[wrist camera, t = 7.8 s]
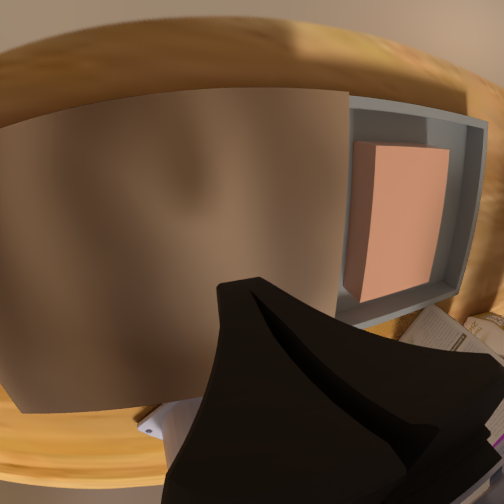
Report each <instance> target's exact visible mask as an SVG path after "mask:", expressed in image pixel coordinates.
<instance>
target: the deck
mask: <svg viewBox="0 0 504 504" xmlns="http://www.w3.org/2000/svg"><path fill="white" fill-rule="evenodd" d="M348 157H349V92H345V91H334V90H322V89H306V88H281V87H237V88H212V89H196V90H184V91H173V92H163V93H155V94H147V95H140V96H133V97H126V98H120V99H114V100H108V101H103V102H98V103H93V104H88V105H83V106H79V107H74V108H70V109H66V110H61V111H57V112H53V113H50V114H46V115H42V116H39V117H35V118H32V119H28V120H25V121H22V122H18V123H15V124H12V125H9V126H6V127H3V128H0V383H1V385H2V386H3V388H4V389H5V391H6V392H7V393H8V395H9V396H10V398H11V399H12V401H13V402H14V403H15V405H16V406H17V408H18V409H19V410H20V412H21V413H72V412H89V411H102V410H113V409H123V408H132V407H140V406H148V405H155V404H162V403H169V402H175V401H181V400H187V399H193V398H198V397H203V396H204V393H205V390H206V387H207V384H208V380H209V377H210V374H211V370H212V366H213V362H214V358H215V354H216V349H217V343H218V336H219V329H220V323H219V313H218V303H217V293H216V287H217V286H218V284H219V283H224V282H230V281H236V280H242V279H248V278H254V277H259V276H260V277H261V278H263V279H265V280H267V281H268V282H270V283H272V284H273V285H275V286H277V287H278V288H280V289H282V290H283V291H285V292H287V293H288V294H290V295H292V296H293V297H295V298H297V299H298V300H300V301H302V302H304V303H306V304H307V305H309V306H311V307H313V308H315V309H317V310H319V311H321V312H323V313H325V314H327V315H329V316H331V317H333V318H335V311H336V304H337V296H338V288H339V279H340V270H341V261H342V251H343V240H344V228H345V214H346V199H347V181H348Z"/></svg>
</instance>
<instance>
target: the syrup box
mask: <svg viewBox="0 0 504 504" xmlns="http://www.w3.org/2000/svg"><path fill="white" fill-rule="evenodd" d="M398 341H401V342H404V343H408V344H413V345H418V346H423V347H428V348H435V349H441V350H448V351H459V352H474V353H489V354H490V355H491V356H493V357H494V358H495V359H496V360H497V361H498V362H499V363H500V364H501V365H502V366H504V359H503V358H502V357H500V356H499V355H498V354H497V353H496V352H494V351H493V350H492V349H491V348H490V347H488V346H487V345H486V344H485V343H484V342H482V341H481V340H480V339H479V338H477V337H476V336H475V335H474V334H472V333H471V332H470V331H469V330H467V329H466V328H465V327H464V326H462V325H461V324H460V323H459V322H457V321H456V320H455V319H454V318H452V317H451V316H450V315H449V314H447V313H446V312H445V311H443V310H442V309H441V308H439V307H438V306H437V305H435V304H432V305H430V306H427V307H425V308H424V309H423V310H422V312H421V313H420V314H419V315H418V316H417V318H416V319H415V320H414V321H413V323H412V324H411V325H410V326H409V328H408V329H407V330H406V331H405V332H404V334H403V335H402V336H401V337H400V339H399V340H398ZM485 426H486V427H487V428H488V429H489V430H490V431H491V436H490V437H489V438H488V439H487V441H488V442H489V443H490V444H491V445H492V446H493V447H495V446H496V445H498V444H499V443H500V442H501V441H502V440H503V439H504V399H503V400H502V402H501V403H500V405H499V406H498V408H497V409H496V410H495V412H494V413H493V415H492V416H491V417H490V419H489V420H488V421H487V423H486V424H485Z"/></svg>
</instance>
